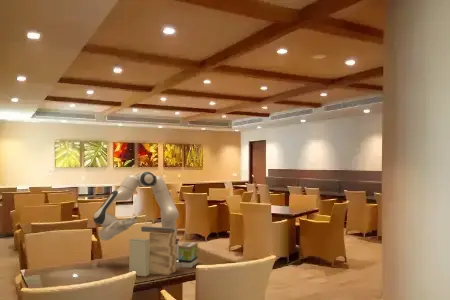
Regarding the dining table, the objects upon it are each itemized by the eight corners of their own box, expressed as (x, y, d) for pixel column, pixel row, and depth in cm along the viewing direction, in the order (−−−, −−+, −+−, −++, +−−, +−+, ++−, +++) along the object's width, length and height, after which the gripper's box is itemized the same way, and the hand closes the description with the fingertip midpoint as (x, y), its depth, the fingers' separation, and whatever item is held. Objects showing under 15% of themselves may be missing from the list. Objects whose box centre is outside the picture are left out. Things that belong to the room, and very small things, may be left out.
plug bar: (143, 230, 274) (143, 226, 274) (173, 232, 266) (173, 227, 266) (141, 231, 271) (141, 226, 272) (170, 233, 263) (170, 228, 263)
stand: (157, 269, 273) (157, 228, 274) (175, 271, 268) (175, 229, 269) (149, 273, 264) (149, 230, 265) (168, 275, 259) (168, 231, 260)
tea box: (192, 268, 276) (191, 246, 277) (177, 267, 278) (177, 245, 279) (197, 263, 291) (197, 242, 292) (184, 262, 293) (184, 241, 294)
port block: (133, 273, 264) (133, 238, 265) (149, 274, 260) (149, 239, 261) (129, 274, 260) (129, 239, 261) (145, 276, 256) (145, 240, 257)
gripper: (107, 224, 271) (122, 215, 267) (125, 221, 290) (139, 212, 286) (110, 233, 270) (126, 224, 266) (128, 229, 289) (143, 220, 285)
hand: (133, 217), depth 276 cm, fingers open, 8 cm apart
